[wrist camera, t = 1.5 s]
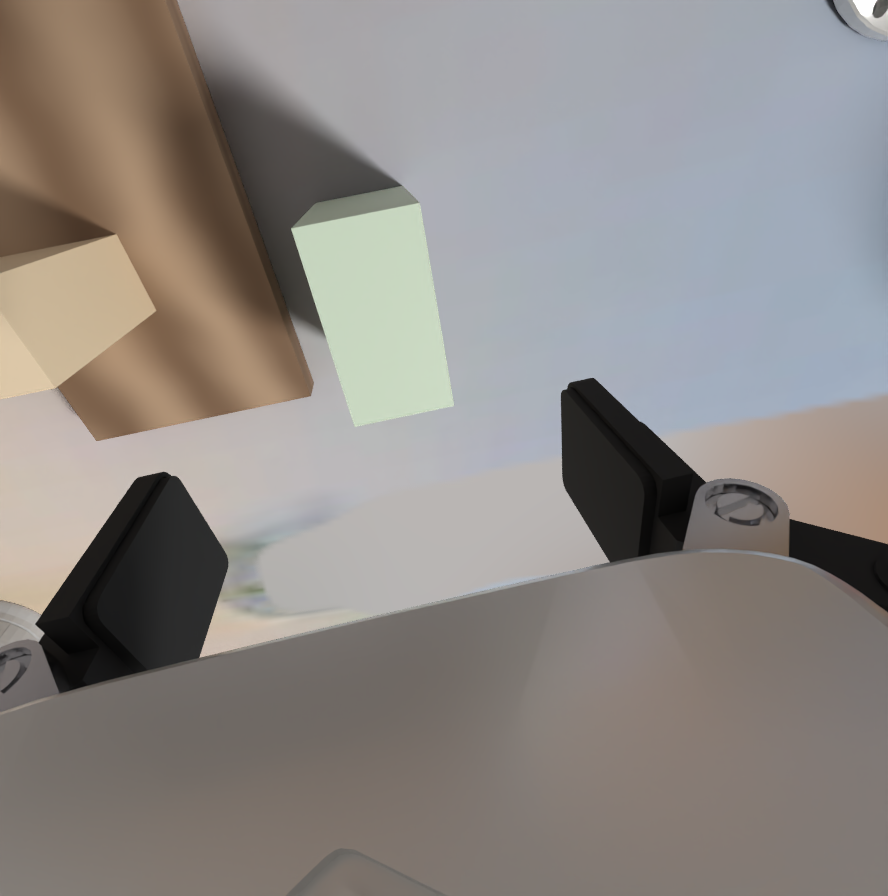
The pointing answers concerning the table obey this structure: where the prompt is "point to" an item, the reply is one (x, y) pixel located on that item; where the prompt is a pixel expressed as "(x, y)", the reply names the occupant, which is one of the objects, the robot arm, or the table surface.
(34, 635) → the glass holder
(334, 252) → the carton
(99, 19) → the shelf board
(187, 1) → the table surface
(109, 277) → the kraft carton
